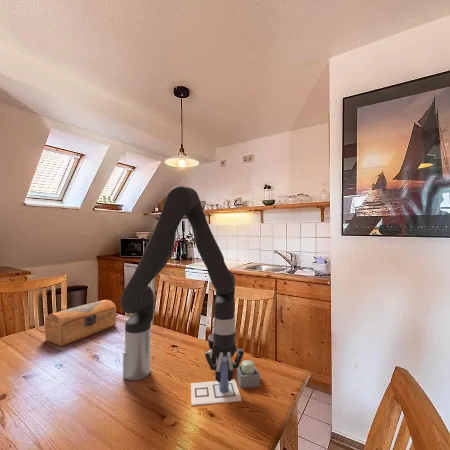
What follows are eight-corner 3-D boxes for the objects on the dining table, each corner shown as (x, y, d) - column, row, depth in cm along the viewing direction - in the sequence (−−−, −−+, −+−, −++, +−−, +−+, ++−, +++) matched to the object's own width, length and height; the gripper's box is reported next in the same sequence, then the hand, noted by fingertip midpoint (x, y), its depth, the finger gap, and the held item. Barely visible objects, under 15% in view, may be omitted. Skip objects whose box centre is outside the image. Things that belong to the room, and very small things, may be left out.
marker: (219, 393, 85) (219, 357, 85) (218, 387, 88) (218, 352, 88) (229, 392, 85) (229, 356, 85) (228, 386, 88) (228, 351, 89)
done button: (243, 380, 90) (243, 367, 90) (240, 372, 94) (240, 360, 94) (255, 379, 90) (255, 366, 90) (252, 371, 95) (252, 359, 95)
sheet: (191, 405, 79) (191, 404, 79) (190, 384, 90) (190, 382, 90) (241, 401, 82) (241, 399, 82) (235, 380, 93) (235, 379, 93)
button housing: (240, 388, 88) (240, 376, 88) (236, 376, 95) (236, 365, 95) (259, 386, 89) (259, 375, 89) (254, 375, 96) (254, 364, 96)
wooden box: (62, 347, 117) (62, 317, 117) (43, 339, 125) (44, 311, 125) (118, 326, 143) (118, 301, 143) (100, 320, 151) (100, 297, 151)
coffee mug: (226, 368, 101) (226, 342, 101) (205, 365, 102) (205, 340, 103) (231, 354, 112) (231, 331, 112) (212, 352, 114) (212, 329, 114)
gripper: (204, 335, 82) (204, 389, 82) (247, 332, 84) (246, 385, 84) (202, 326, 89) (202, 375, 89) (242, 324, 92) (241, 372, 91)
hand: (224, 380), depth 87 cm, fingers closed on marker, 3 cm apart
